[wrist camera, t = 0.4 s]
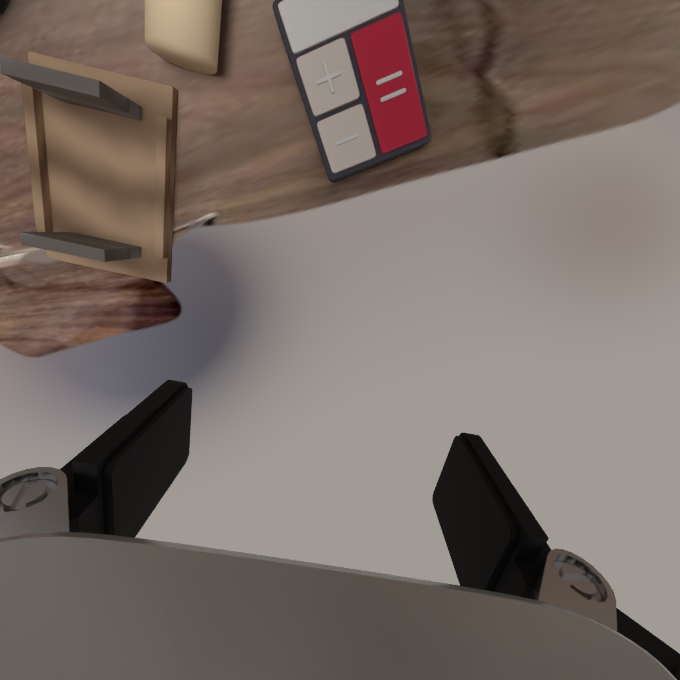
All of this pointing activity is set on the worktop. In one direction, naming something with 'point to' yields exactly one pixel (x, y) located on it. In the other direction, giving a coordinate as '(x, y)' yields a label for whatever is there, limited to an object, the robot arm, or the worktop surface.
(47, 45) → the worktop surface
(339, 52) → the calculator
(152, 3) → the beige cylinder
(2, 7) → the camera lens
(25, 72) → the roll holder
